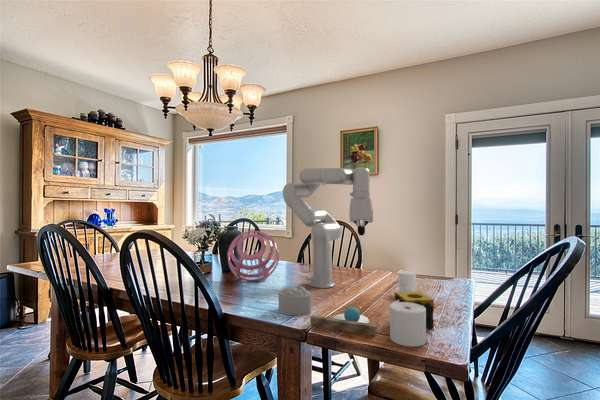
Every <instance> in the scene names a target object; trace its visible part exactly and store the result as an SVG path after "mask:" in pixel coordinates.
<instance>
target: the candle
mask: <svg viewBox="0 0 600 400" xmlns="http://www.w3.org/2000/svg"><path fill="white" fill-rule="evenodd" d="M396 300H399V302H410V303H415V304H419V305H422V306H424V307H425V308H426V330H431V329H434V328H435V326H434V325H435V324H434V323H435V321H434V308H435V305H434V303H435V301H434V300H435V299H434V298H432V297H430V296H429V295H427V294H425V293H423V292H422V291H415V292H399V291H395V292H394V301H396Z"/></svg>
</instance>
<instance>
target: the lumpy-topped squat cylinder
mask: <svg viewBox="0 0 600 400" xmlns="http://www.w3.org/2000/svg"><path fill="white" fill-rule="evenodd" d="M277 295H278V296H277V297H278V312H281V313H282V314H286V315H290V316H299V317H300V316H301V317H302V316H308V315H310V314H312V294H311V291H309V290H307V289H306V288H305V287H304V286H299V287H294V286H289V287H285V288H283V289H282V290H280V291H278V293H277Z"/></svg>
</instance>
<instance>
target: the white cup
mask: <svg viewBox="0 0 600 400" xmlns="http://www.w3.org/2000/svg"><path fill="white" fill-rule="evenodd" d="M416 277H417V272H415V271H412V270H399V271H397V281H398V282H397V283H398V292H416V281H417V279H416Z"/></svg>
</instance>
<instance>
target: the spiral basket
mask: <svg viewBox="0 0 600 400" xmlns="http://www.w3.org/2000/svg"><path fill="white" fill-rule="evenodd" d="M248 238H249V239H250V238H256V239H258V240H259V241H260V243H261V244H260V245H261V246H260V249H259V251H257V250H256V249H253V251H254V254H247V253H248V250H249V249H248V248H246V250H244V251H243V249H242V244H243V242H244V241H245V240H246V239H248ZM266 240H267V242H268V243H269V253H268V255H267V256H266V258H265V259H264V260H263V259H262V256H263V255H264V254H265V252H266V249H267V243H266ZM235 247H236V250H237V251H236V252H237V254H238V255H239V256H240V259H239V260H238V259H237V257H236V256H235V252H234V249H235ZM274 251H275V256H274V258H273V255H274ZM272 258H273V261H272V263H271V264H270V265H269V267H267V264H268V263H270V261H271V260H272ZM231 260H232V261H233V263H234V264H235V266H236V267H235V266H234V265H233V263H232V261H231ZM244 260H245V261H256V260H257V262H258V263H257V264H253V265H247V264H245V263H243V262H244ZM279 261H280V252H279V248H278V245H277V242H276V241H275V240H274V238H272V236H271V235H269V234H267V233H266V232H263V231H260V230H248V231H244V232H242V233H240V234H238V236H237V237H236V236H235V238H234V239H233V240H232V241H231V243H230V244H229V247H228V250H227V263H228V267H229V269H230V271H231V272H232V274H233V275H234V276H236V278H238V279H240V280H243V282H244V281H245V282H250V283H251V282H252V283H253V282H259V281H262V280H266V279H268V278H269V277H270V276H271V275H272V274H273V272H274V271H275V270H276V269H277V267H278V264H279ZM260 269H261V270H262V271H261V270H260ZM241 270H244V271H245V270H246V271H249V272H247V273H245V272H242V271H241ZM255 270H258V272H257V273H252V272H253V271H255ZM259 277H260V278H259ZM250 278H251V279H250ZM253 278H255V279H253Z"/></svg>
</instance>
